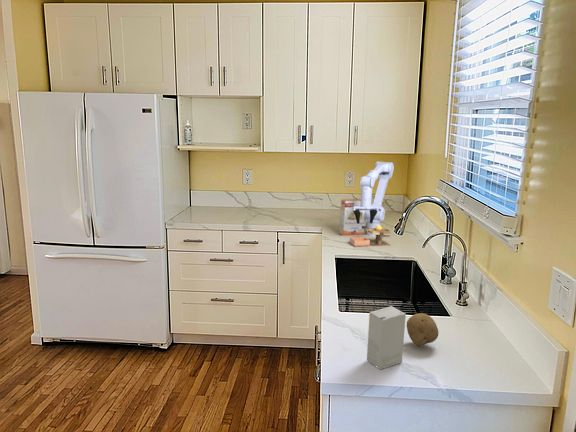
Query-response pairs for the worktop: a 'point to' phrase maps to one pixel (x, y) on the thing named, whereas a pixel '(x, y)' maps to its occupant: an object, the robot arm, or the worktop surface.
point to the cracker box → (351, 218)
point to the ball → (378, 228)
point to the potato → (422, 329)
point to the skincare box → (386, 337)
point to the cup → (359, 241)
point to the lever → (376, 232)
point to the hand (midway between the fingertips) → (364, 223)
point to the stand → (377, 241)
